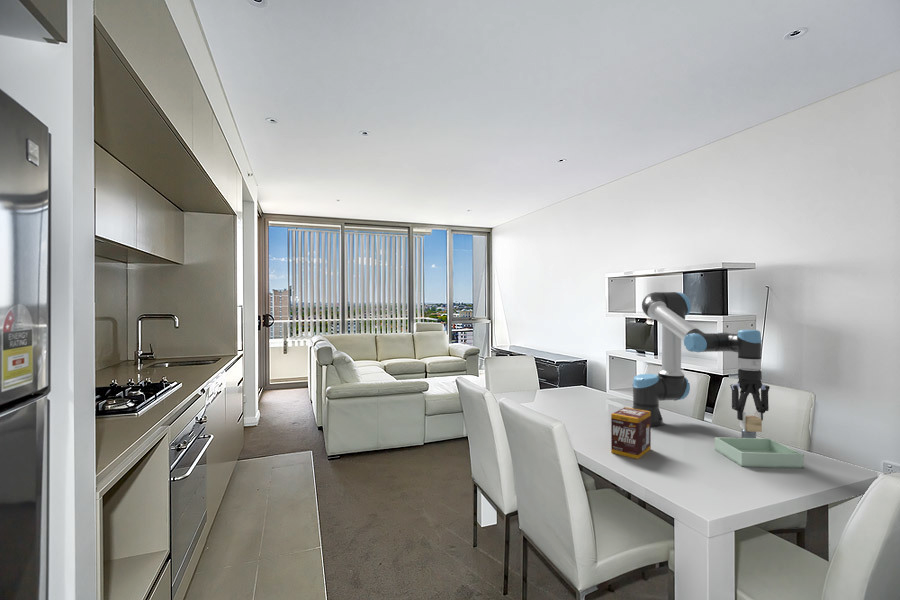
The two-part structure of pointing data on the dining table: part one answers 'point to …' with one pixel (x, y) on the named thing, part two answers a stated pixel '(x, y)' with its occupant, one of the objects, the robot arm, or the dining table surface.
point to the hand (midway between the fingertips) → (750, 428)
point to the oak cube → (753, 424)
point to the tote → (759, 452)
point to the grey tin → (748, 434)
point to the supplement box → (631, 432)
